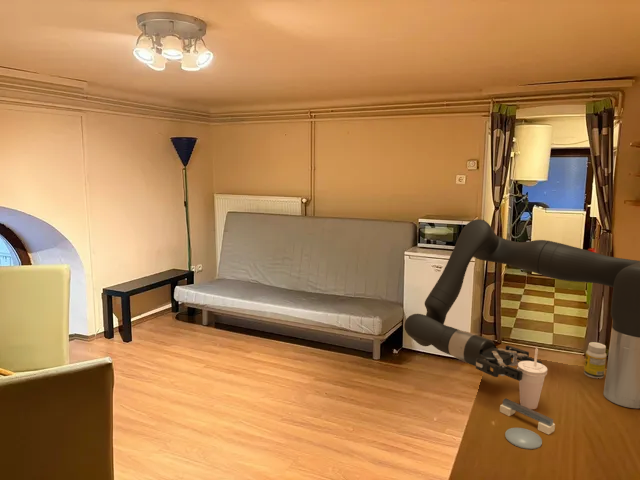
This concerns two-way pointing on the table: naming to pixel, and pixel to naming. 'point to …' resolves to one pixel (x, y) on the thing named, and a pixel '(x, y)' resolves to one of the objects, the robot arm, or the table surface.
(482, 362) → the robot arm
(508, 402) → the steel bar
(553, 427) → the hurdle stand
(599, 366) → the supplement bottle
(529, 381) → the smoothie
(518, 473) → the table surface
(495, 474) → the table surface
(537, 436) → the pad
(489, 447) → the table surface
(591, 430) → the table surface
